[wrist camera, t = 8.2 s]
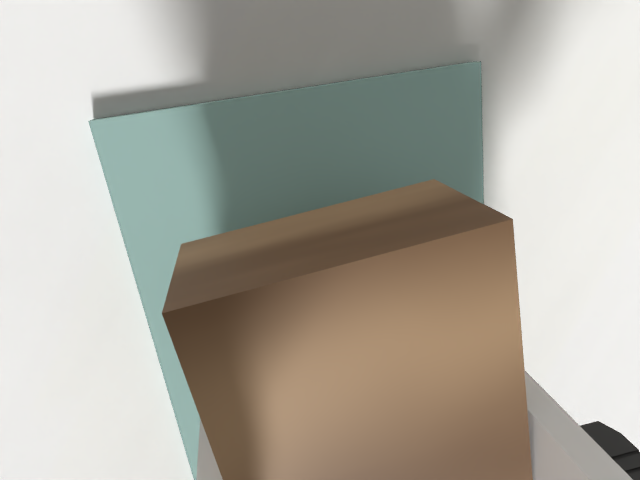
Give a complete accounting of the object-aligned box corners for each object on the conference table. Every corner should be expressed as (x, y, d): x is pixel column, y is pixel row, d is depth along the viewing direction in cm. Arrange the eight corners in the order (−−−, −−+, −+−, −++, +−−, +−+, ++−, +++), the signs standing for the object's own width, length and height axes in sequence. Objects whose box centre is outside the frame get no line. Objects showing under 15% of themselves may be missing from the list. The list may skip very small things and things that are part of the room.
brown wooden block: (181, 243, 13) (159, 320, 9) (434, 178, 14) (521, 223, 10) (286, 561, 17) (305, 712, 13) (476, 500, 18) (549, 626, 14)
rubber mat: (218, 550, 21) (218, 561, 20) (92, 119, 15) (88, 121, 14) (483, 480, 22) (488, 488, 22) (473, 61, 16) (481, 61, 16)
